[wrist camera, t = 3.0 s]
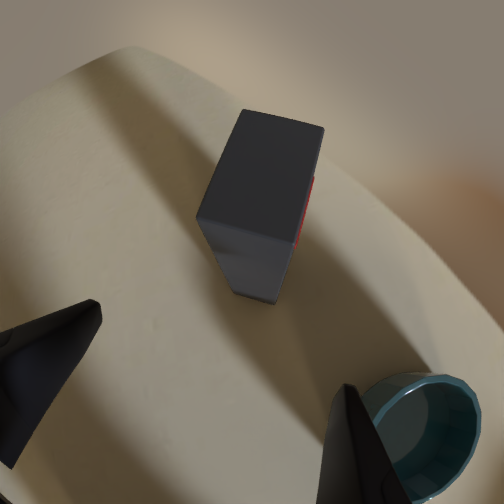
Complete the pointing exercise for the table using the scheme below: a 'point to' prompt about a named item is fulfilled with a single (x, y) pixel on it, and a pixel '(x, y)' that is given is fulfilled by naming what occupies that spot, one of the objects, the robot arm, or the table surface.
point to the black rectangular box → (260, 200)
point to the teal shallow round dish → (425, 428)
